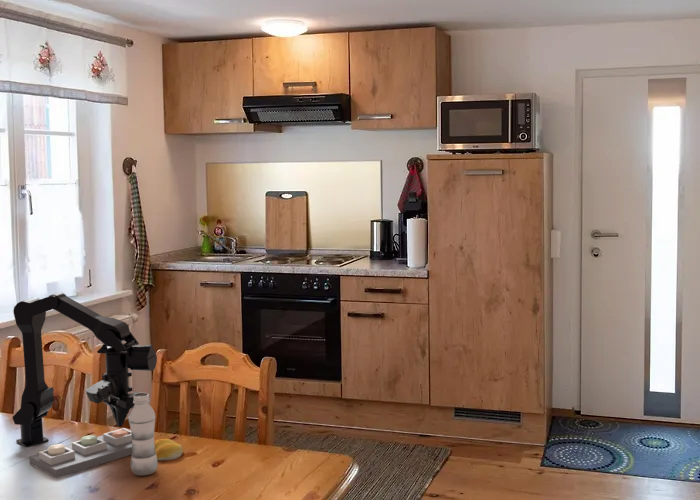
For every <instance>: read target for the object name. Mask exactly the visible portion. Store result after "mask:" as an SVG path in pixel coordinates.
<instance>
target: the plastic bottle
mask: <svg viewBox="0 0 700 500" xmlns="http://www.w3.org/2000/svg"><path fill="white" fill-rule="evenodd" d="M133 397H134V400H133V403H134V404H135V405H134V406H133V408H130V410H129V412H128V416H127V417H128V424H129V427H130V428H129V429H130V431H131V437H132V454H131V456H130V457H131V458H130V469H131V471H132V473H133V474H134V475H135V476H144V477H145V476H149V475H151V474H154V473H155V472H156V470H157V469H158V464H159V463H158V462H159V460H157V456H156V452H155V444H154V442H155V425H156V424H155V423H156V413H155V410H154V409H153V407H152V406H151V404H150V394H149V393H147V392H139V393H137V394H135V395H134V396H133Z"/></svg>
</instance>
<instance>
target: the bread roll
mask: <svg viewBox="0 0 700 500" xmlns="http://www.w3.org/2000/svg"><path fill="white" fill-rule="evenodd" d="M154 444H155V452H156V456H157V460H158V461H173V460H176V459H178V458H180V457H181V456H182V455H183V451H184V450H183V446H182V445H181V444H180V443H177V442H176V441H174V440H173V439H170V438H161V439H157V440H154Z"/></svg>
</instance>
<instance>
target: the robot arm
mask: <svg viewBox="0 0 700 500" xmlns="http://www.w3.org/2000/svg"><path fill="white" fill-rule="evenodd" d="M51 310H54V311H56V312H58V313H59V314H61V315H62V316H65V317H67V318H69V319H70V320H71V321H73V322H76V323H77V324H79V325H80V326H83V327H84V328H86V329H88V330H90V331H91V332H92V334H93V335H94V336H95V338H96V339H97V340H99V341H100V342H101V343H102V345H101V347H100V348H99V349H98V350H97V351H96V352H97V354H104V355H105V356H104V357H105V372H104V373H102V375H101V377H102V378H101V380H100V381H97V382H96V383H94V384H92V385H91V386H90V387H88V388H86V389H85V393H86V395H87V397H88V401H89V402H91V403H92V402H93V403H94V404H95V405H96V404H99V403H103V404H105V405H106V406H108V407H109V408H110V410H111V414H112V415H113V418H114V420H115V425H116V426H117V427H123V425H124V423H125V422H126V421H125V420H126V418H127V417H128V415H129V413H130V411H131V409H132V408H133V406H134V405H135V404H134V403H133V400H134V397H133V396H134V395H135V394H137V393H140V391H134V390H133V387H132V386H130V377H132V376H133V372H132V371H145V372H152V371H154V370H155V369H156V367H157V364H158V356H157V352H156V350H155V349H154V347H153V346H154V345H153V344H140V343H139V341H138V340H137V339H136V337H135V336H134V334H133V333H132V332H131V329H130V327H129V324H127V323H126V322H125V321H123V320H120V319H117V318H114V317H108V316H104V315H101V314H99V313H98V312H96V311H94V310H92V309H90V308H89V307H87V306H85V305H83V304H81V303H79V302H78V301H76V300H74V299H72V298H71V297H69V296H67V295H66V294H65V293H64V292H61V291H60V292H55V293H52V294H50V295H49V296H46V297H43V298H39V297H36V296H35V297H31V298H28V299H25V300H22V301H19V302H17V303H16V305H14V306H13V311H12V312H13V317H14V321H15V325H16V326H17V328H18V329H19V330H20V332H21V336H22V349H23V351H22V352H23V362H24V363H23V365H24V376H25V378H24V379H25V386H24V388H23V391H22V394H21V398H20V399H21V401H20V408H19V410H17V412H15V414H14V415H13V416H12V421H13V423H14V425H20V427H19V428H20V438H18V439H16V440H15V442H16V443H18V444H20V445H22V446H24V447H25V448H27V447H31V446H32V447H33V446H35V445H39V444H42V443H47V442H49V441H50V440H49V438H47V437H46V436H44V427H43V425H44V424H43V418H44V417H47V416H48V414H49V410H51V408H52V407H53V406H54V402H55V401H56V399H55V397H54V391H55V390H54V386H53V387H52V386H50V387H49V386H48V384H47V383H46V380H45V368H44V367H45V365H44V353H43V337H42V330H43V326H44V323H45V321H46V316H47V315H46V314H47V312H49V311H51ZM123 342H125V343H123ZM129 370H131V371H129ZM133 391H134V392H133Z"/></svg>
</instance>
